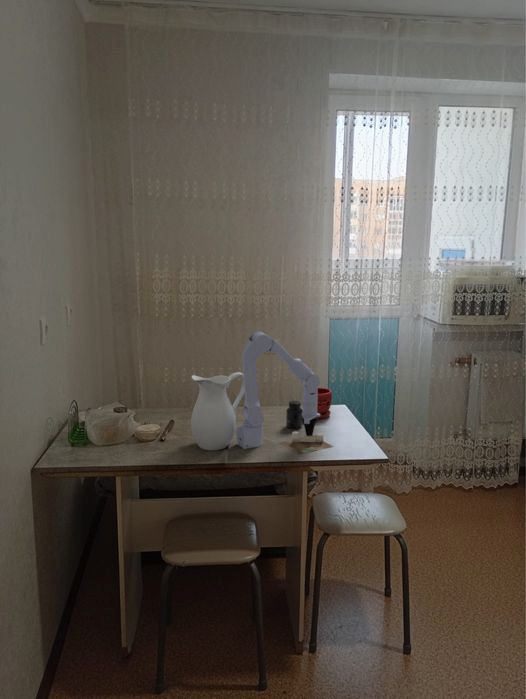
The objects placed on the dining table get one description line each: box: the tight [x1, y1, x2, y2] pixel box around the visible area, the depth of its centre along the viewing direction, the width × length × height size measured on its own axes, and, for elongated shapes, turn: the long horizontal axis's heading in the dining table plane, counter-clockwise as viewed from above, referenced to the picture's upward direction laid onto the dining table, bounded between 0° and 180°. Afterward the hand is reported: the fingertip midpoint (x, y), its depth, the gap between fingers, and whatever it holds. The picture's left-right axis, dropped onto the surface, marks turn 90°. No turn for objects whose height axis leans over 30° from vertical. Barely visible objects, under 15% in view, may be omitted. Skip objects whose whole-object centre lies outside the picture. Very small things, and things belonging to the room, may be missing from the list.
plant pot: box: [317, 387, 333, 419], centre depth 241 cm, size 13×13×12 cm
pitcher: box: [190, 371, 245, 451], centre depth 203 cm, size 24×17×28 cm
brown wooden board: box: [279, 439, 334, 455], centre depth 201 cm, size 16×14×1 cm
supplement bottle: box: [285, 400, 303, 430], centre depth 221 cm, size 7×7×12 cm
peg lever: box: [291, 431, 324, 443], centre depth 203 cm, size 12×3×3 cm, turn 91°
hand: (309, 436), depth 207 cm, fingers closed
